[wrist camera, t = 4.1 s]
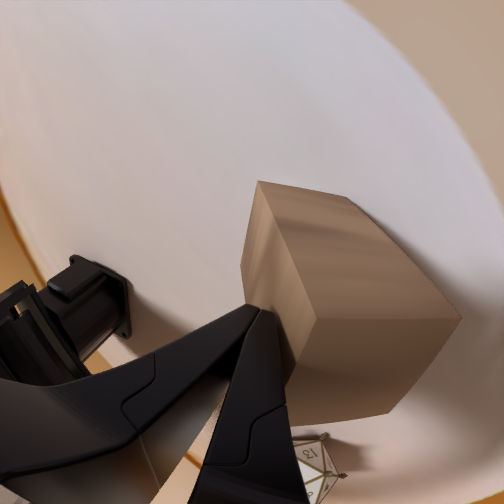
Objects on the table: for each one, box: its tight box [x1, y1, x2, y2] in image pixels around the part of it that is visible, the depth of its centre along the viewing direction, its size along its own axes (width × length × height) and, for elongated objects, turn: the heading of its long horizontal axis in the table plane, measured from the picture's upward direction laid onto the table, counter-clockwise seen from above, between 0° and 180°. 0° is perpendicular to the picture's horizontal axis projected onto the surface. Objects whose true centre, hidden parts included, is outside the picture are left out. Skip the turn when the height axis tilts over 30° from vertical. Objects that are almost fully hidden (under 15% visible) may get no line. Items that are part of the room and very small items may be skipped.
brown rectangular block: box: [240, 181, 462, 427], centre depth 11 cm, size 4×4×9 cm
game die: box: [293, 432, 348, 504], centre depth 20 cm, size 9×8×10 cm
